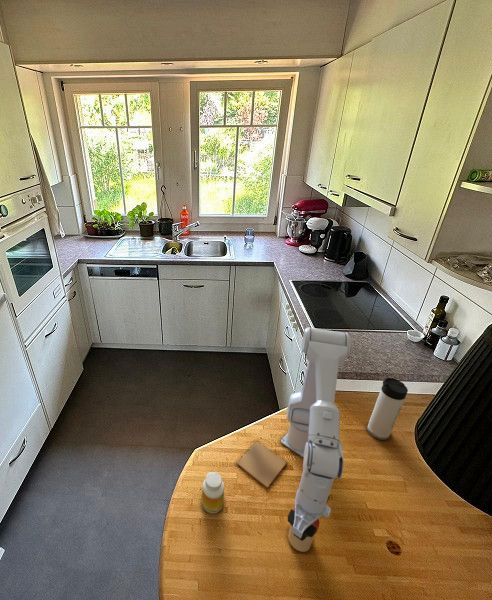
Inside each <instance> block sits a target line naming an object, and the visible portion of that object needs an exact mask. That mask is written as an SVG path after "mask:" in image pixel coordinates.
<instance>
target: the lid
mask: <svg viewBox="0 0 492 600" xmlns="http://www.w3.org/2000/svg"><path fill="white" fill-rule="evenodd" d="M292 510H293V511H295V507H294V508H293V509H292ZM312 525H313V526H315V527H316V528H317V529H316V532H315V534H314V536H315V535H316V534H317V532H318V530H319V527H320V518H318V519H317V520H316V521H315V522H314V523H312Z"/></svg>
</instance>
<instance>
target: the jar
mask: <svg viewBox="0 0 492 600" xmlns="http://www.w3.org/2000/svg"><path fill="white" fill-rule="evenodd" d="M291 531H292V526H291V524H290V525H289V530H288V535H287V538H288V541H289V543H290V545H291V546H292V548H293V549H295V551H299V552H300V553H301V552H302V553H304V552H308V551H309V550H310V549H311V547H312V544H313V541H314V538H315V535H314V536H313V537H306V538H305V539H304V540H303V541H301V540H300V539H298V538H297V537H296V536H294V534H293V533H292V532H291Z"/></svg>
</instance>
